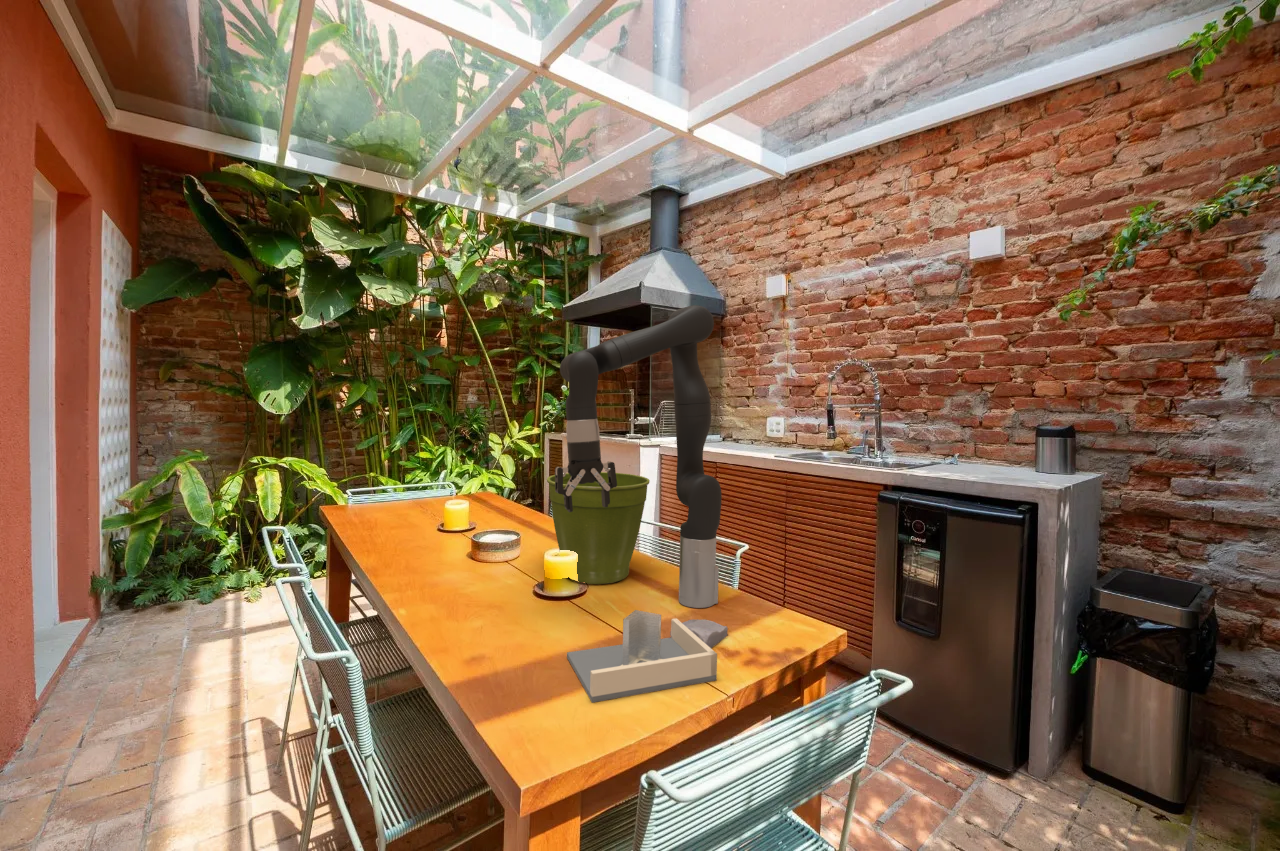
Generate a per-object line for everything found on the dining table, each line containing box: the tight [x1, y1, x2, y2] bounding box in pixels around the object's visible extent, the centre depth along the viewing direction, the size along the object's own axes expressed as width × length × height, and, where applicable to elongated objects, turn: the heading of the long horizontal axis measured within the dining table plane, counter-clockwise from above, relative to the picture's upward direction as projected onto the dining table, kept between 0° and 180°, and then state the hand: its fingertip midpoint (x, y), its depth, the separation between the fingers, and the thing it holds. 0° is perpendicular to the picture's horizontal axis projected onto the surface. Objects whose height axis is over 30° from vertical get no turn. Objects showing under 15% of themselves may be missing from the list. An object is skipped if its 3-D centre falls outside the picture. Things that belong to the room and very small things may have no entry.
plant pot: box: [546, 471, 651, 585], centre depth 166 cm, size 30×30×29 cm
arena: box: [566, 618, 718, 703], centre depth 110 cm, size 24×18×5 cm
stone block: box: [669, 618, 729, 649], centre depth 124 cm, size 12×5×10 cm
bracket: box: [622, 609, 662, 665], centre depth 109 cm, size 6×6×9 cm
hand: (587, 509), depth 132 cm, fingers open, 8 cm apart
